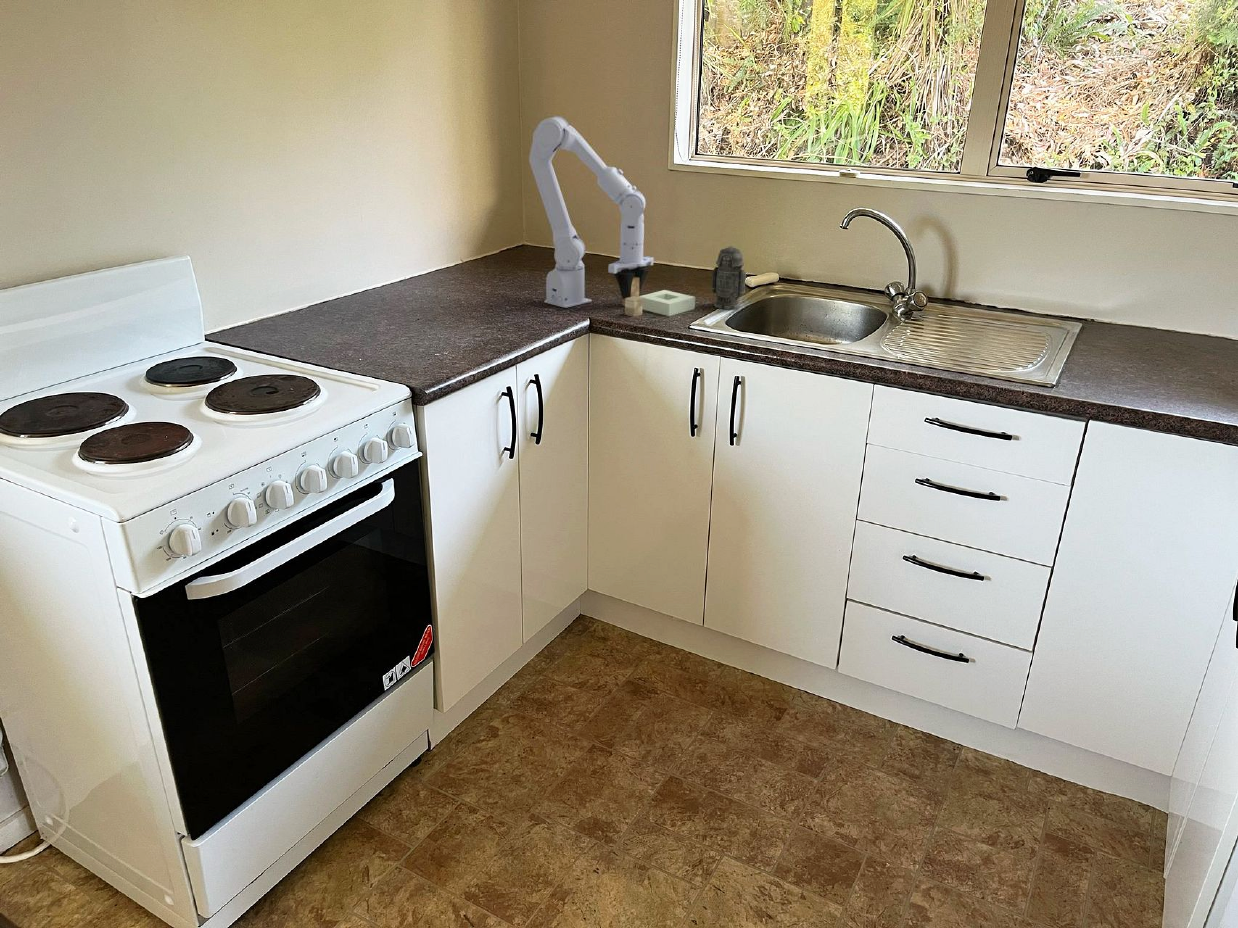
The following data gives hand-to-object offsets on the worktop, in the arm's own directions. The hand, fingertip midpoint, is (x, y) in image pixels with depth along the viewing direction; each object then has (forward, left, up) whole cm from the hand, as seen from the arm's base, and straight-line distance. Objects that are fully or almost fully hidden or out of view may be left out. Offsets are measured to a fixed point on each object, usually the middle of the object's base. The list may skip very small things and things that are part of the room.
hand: (630, 297), depth 232 cm
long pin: (0, 0, -2) cm, 2 cm away
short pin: (-6, -7, -2) cm, 9 cm away
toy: (+17, -18, -2) cm, 24 cm away
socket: (+4, -9, -2) cm, 10 cm away
